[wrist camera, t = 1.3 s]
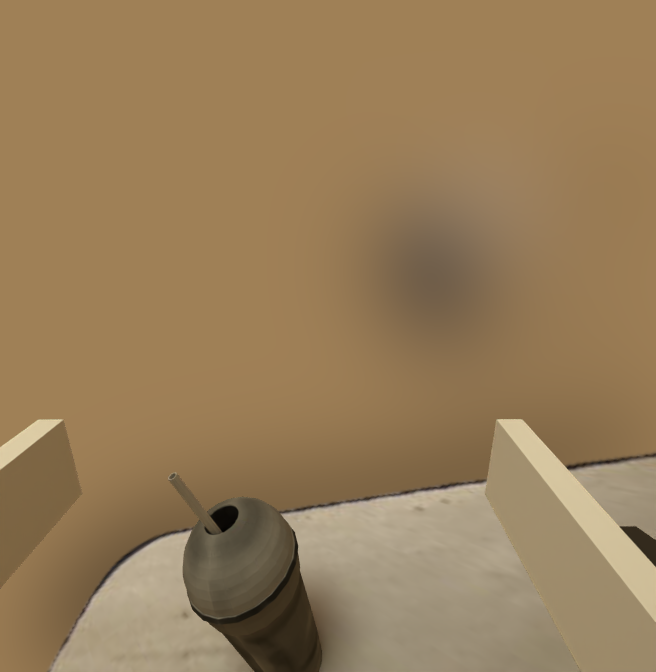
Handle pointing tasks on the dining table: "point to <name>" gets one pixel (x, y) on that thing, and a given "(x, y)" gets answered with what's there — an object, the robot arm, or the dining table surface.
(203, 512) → the beverage cup
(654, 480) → the dining table surface
